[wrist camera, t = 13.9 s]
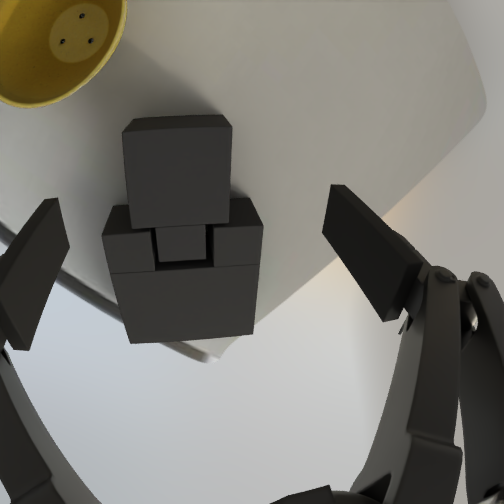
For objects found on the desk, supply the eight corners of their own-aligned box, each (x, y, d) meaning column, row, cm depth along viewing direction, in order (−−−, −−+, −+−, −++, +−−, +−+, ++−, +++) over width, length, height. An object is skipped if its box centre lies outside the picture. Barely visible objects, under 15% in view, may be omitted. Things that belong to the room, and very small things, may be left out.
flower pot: (17, 96, 17) (-31, 113, 11) (38, -18, 12) (-4, -35, 6) (128, 96, 20) (106, 109, 14) (156, -23, 15) (147, -55, 9)
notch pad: (250, 197, 27) (263, 225, 23) (243, 300, 34) (253, 334, 30) (112, 205, 25) (100, 235, 21) (133, 308, 31) (130, 344, 27)
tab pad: (223, 114, 23) (232, 126, 19) (220, 225, 28) (228, 257, 24) (133, 118, 21) (121, 132, 17) (142, 230, 27) (137, 263, 23)
